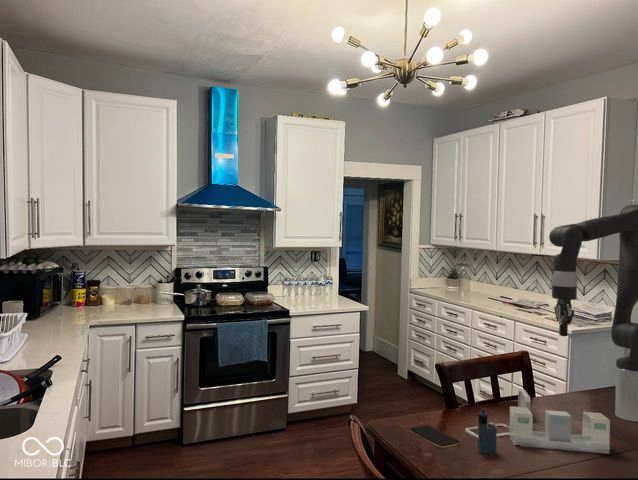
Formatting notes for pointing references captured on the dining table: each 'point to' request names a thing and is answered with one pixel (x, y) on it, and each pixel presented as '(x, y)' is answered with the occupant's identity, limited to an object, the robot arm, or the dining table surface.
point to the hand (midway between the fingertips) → (563, 335)
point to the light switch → (524, 399)
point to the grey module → (557, 426)
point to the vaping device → (486, 434)
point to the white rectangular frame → (477, 427)
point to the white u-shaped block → (590, 441)
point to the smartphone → (434, 436)
